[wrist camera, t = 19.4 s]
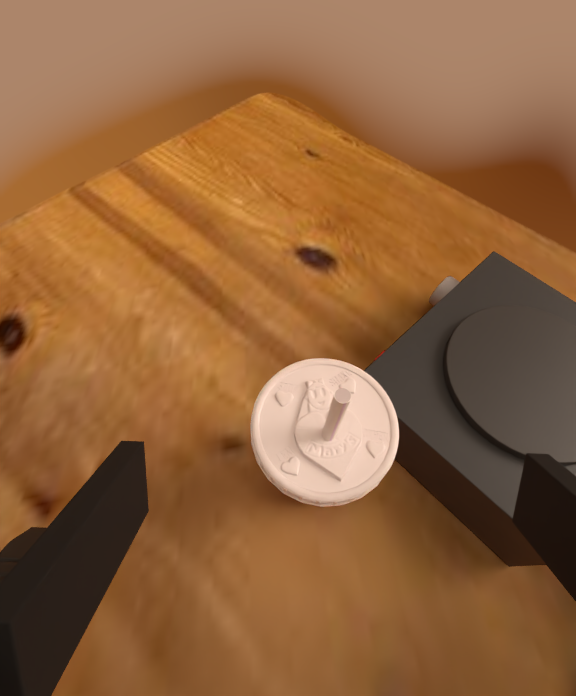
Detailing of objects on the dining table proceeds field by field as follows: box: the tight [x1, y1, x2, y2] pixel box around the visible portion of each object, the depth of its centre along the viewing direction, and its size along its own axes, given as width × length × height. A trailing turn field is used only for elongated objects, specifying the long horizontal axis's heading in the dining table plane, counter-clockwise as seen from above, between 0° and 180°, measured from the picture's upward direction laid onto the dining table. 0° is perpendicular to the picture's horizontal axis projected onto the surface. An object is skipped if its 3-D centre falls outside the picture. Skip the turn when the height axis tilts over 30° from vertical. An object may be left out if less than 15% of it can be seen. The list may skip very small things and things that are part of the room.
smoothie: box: [251, 358, 399, 507], centre depth 19 cm, size 6×6×14 cm
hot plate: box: [364, 252, 576, 566], centre depth 25 cm, size 14×15×6 cm
